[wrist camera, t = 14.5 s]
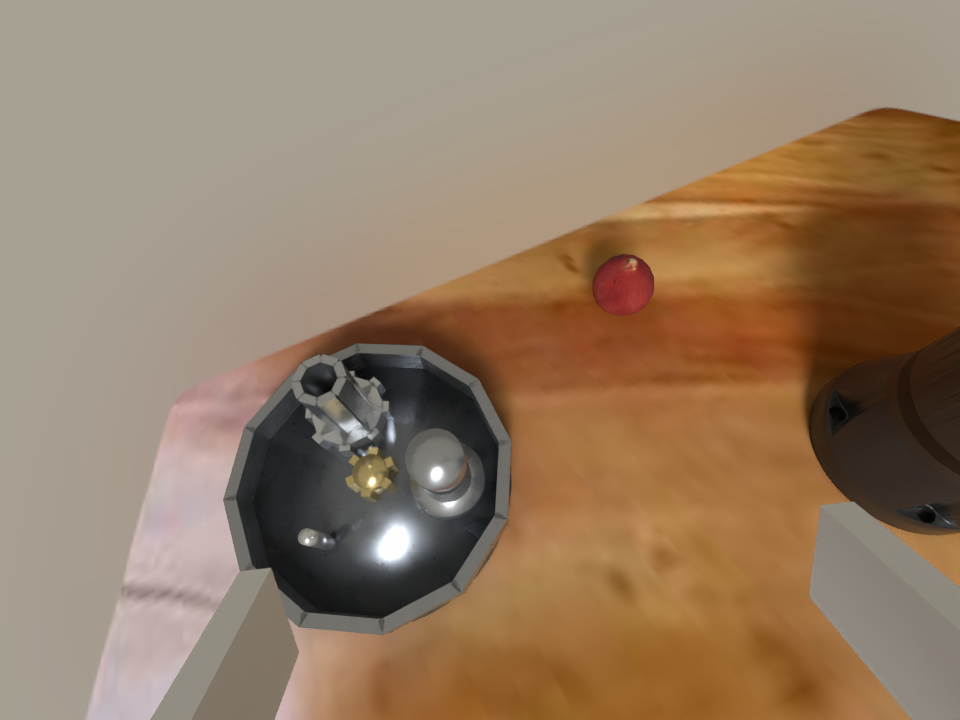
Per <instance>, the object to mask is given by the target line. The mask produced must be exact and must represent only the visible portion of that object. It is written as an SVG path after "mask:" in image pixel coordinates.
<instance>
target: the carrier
mask: <svg viewBox="0 0 960 720" xmlns="http://www.w3.org/2000/svg"><path fill="white" fill-rule="evenodd" d="M330 356H331V357H334V358H337V359H339V360H340V361H341V362H342V363H343V364H344V366H345V367H346V368H347V370H348V371H355V372H356V374H357V375H358V376H359V378H360V379H364V380H367V381H370V380H371V379H372V378H373V377H375V378H376V379H377V380H378V381H379V382H380V383H381V384H382V385H383V387H384V388H385V390H386V392H385V393H384V394H382V397H383V399H384V401H389V402H390V404H391V405H392V407H393V408H394V417H393V418H391V419H387V421H386V423H385V425H384V427H383V430H382V432H381V434H382V435H383V436H384V438H385V439H384V440H383V441H382V442H381V443H380V444H379V445H378V446H376V445H375V444H374V443H373V442H372V443H370V444H368V445H366V446H364V447H362V448H359V449H357V456H356V455H353V456H350V457H346V456H344V455H343V454H342V453H341V452H339V448H338V447H335V446H332V445H331V446H330V447H329V448H328V449H327V450H326V449H324V448H323V447H322V446H320V445H319V444H318V443H317V442H316V441H315V440H314V439H313V438H312V436H313V435H314V434H315V433H316V429H315V426H314V425H313V424H312V423H311V422H309V421H308V420H307V419H306V418H305V415H306V407H305V406H304V405H303V404H301V403H300V402H299V401H298V400H297V399H296V397H295V394H294V391H293V388H292V385H291V383H293V381H292V378H293V376H294V374H295V372H296V371H297V370H296V371H294V372H293V373H292V374H291V375H290V376H289V377H288V378H287V380H286V381H285V382H284V383H283V384H282V385H281V386H280V387H279V389H278V390H277V391H276V392H275V393H274V394H273V395H272V396H271V398H270V399H269V400H268V401H267V402H266V403H265V404H264V405H263V407H262V408H261V409H260V410H259V411H258V412H257V413H256V414H255V416H254V417H253V418H252V419H251V420H250V421H249V422H248V423H247V425H246V426H245V427H244V430H243V434H242V437H241V441H240V444H239V448H238V451H237V454H236V458H235V461H234V465H233V468H232V472H231V475H230V478H229V482H228V485H227V489H226V492H225V496H224V499H223V501H224V505H225V509H226V514H227V518H228V522H229V527H230V531H231V535H232V539H233V544H234V548H235V552H236V557H237V561H238V565H239V570H240V571H247V570H256V569H265V568H271V569H272V572H273V575H274V578H275V581H276V584H277V587H278V590H279V593H280V596H281V599H282V602H283V605H284V608H285V611H286V614H287V617H288V618H289V619H290V620H291V621H293V622H294V623H295V624H296V625H297V626H298V627H303V628H313V629H324V630H335V631H346V632H356V633H367V634H378V635H384V634H387V633H390V632H393V631H395V630H396V629H398V628H400V627H402V626H404V625H406V624H408V623H410V622H412V621H415V620H417V619H420V618H422V617H424V616H426V615H429V614H431V613H433V612H434V611H436V610H438V609H439V608H441V607H442V606H444V605H446V604H447V603H449V602H450V601H451V600H453V599H455V598H456V597H458V596H460V595H462V594H464V593H465V592H466V591H467V589H468V587H469V586H470V584H471V583H472V581H473V580H474V579H475V578H476V577H477V576H478V574H479V573H480V571H481V570H482V569H483V567H484V566H485V564H486V563H487V562H488V560H489V559H490V557H491V555H492V553H493V551H494V549H495V547H496V546H497V544H498V542H499V539H500V536H501V534H502V533H503V531H504V530H505V528H506V526H507V525H508V515H509V505H510V496H511V451H512V448H511V440H510V438H509V436H508V434H507V432H506V430H505V428H504V426H503V424H502V423H501V421H500V419H499V417H498V415H497V413H496V411H495V409H494V407H493V406H492V404H491V402H490V400H489V398H488V396H487V394H486V392H485V390H484V389H483V387H482V385H481V383H480V381H479V379H477V378H476V377H474V376H472V375H471V374H469V373H467V372H466V371H464V370H462V369H461V368H459V367H457V366H456V365H454V364H452V363H451V362H449V361H447V360H446V359H444V358H442V357H441V356H439V355H437V354H436V353H434V352H432V351H431V350H429V349H427V348H426V347H424V346H416V345H387V344H358V343H357V344H355V345H352V346H350V347H348V348H346V349H343V350H341V351H339V352H337V353H334V354H332V355H330Z"/></svg>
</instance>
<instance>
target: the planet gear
mask: <svg viewBox="0 0 960 720" xmlns="http://www.w3.org/2000/svg"><path fill="white" fill-rule="evenodd" d="M292 381H293V383H291V385H292V388H293V391H294V394H295V397H296V399H297V400H298V401H299V402H300V403H301V404H303V405H304V406H305V407H306V415H305V418H306V419H307V420H308V421H309V422H311V423H312V424H313V425H314V426H315V429H316V433H315V434H314V435H313V436H312V438H313V439H314V440H315V441H316V442H317V443H318V444H319V445H320V446H322V447H323V448H324V449H326V450H327V449H328V448H329V447H330V446H331V445H332V446H335V447H338V448H339V452H341V453H342V454H343V455H344V456H346V457H350V456H353V455H356V456H357V449H359V448H362V447H364V446H366V445H368V444H370V443H372V442H373V443H374V444H375V445H376V446H378V445H379V444H380V443H381V442H382V441H383V440H384V439H385V438H384V436H383V435H382V434H381V432H382V430H383V427H384V425H385V423H386V421H387V419H391V418H393V417H394V408H393V407H392V405H391V404H390V402H389V401H384V399H383V397H382V394H384V393H385V392H386V390H385V388H384V387H383V385H382V384H381V383H380V382H379V381H378V380H377V379H376V378H375V377H373V378H372V379H371V380H370V381H367V380H364V379H360V378H359V376H358V375H357V374H356V372H355V371H348V370H347V368H346V367H345V366H344V364H343V363H342V362H341V361H340V360H339V359H337V358H334V357H331V356H327V355H324V354H322V356H320V354H319V355H317V356H315V357H312V358H310V359H308V360H306V361H304V362H303V365H301V364H300V365H299V367H298V369H297V371H296V372H295V374H294V376H293V378H292Z"/></svg>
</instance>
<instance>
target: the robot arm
mask: <svg viewBox="0 0 960 720" xmlns="http://www.w3.org/2000/svg"><path fill="white" fill-rule="evenodd" d="M810 431H811V438H812V442H813V446H814V449H815V452H816V455H817V457H818V459H819V461H820V463H821V465H822V467H823V469H824V470H825V472H826V473H827V475H828V476H829V478H830V479H831V480H832V482H833V483H834V484H835V485H836V487H837V488H838V489H839V490H840V491H841V492H842V493H843V494H844V495H845V496H846V497H847V498H848V499H849V500H850V501H852V502H845V503H836V504H828V505H821V507H820V514H819V522H818V530H817V537H816V545H815V553H814V560H813V568H812V576H811V583H810V591H809V597H810V599H811V600H812V601H813V602H814V603H815V604H816V606H817V607H818V608H819V609H820V610H821V612H822V613H823V614H824V615H825V616H826V618H827V619H828V620H829V621H830V622H831V624H832V625H833V626H834V627H835V628H836V630H837V631H838V632H839V633H840V634H841V636H842V637H843V638H844V639H845V640H846V642H847V643H848V644H849V645H850V646H851V648H852V649H853V650H854V651H855V652H856V654H857V655H858V656H859V657H860V658H861V660H862V661H863V662H864V663H865V664H866V666H867V667H868V668H869V669H870V670H871V671H872V673H873V674H874V675H875V676H876V677H877V679H878V680H879V681H880V682H881V683H882V685H883V686H884V687H885V688H886V689H887V691H888V692H889V693H890V694H891V695H892V697H893V698H894V699H895V700H896V701H897V703H898V704H899V705H900V706H901V707H902V709H903V710H904V711H905V712H906V713H907V715H908V716H909V717H910V718H911V719H912V720H960V587H958V586H957V585H956V584H955V583H953V582H952V581H951V580H950V579H949V578H947V577H946V576H945V575H944V574H942V573H941V572H940V571H939V570H937V569H936V568H935V567H934V566H932V565H931V564H930V563H929V562H928V561H926V560H925V559H924V558H923V557H921V556H920V555H919V554H918V553H916V552H915V551H914V550H913V549H912V548H910V547H909V546H908V545H907V544H905V543H904V542H903V541H902V540H900V539H899V538H898V537H897V536H895V535H894V534H893V533H892V532H891V531H889V530H888V529H887V528H886V527H884V526H883V525H882V524H881V523H879V522H878V521H877V520H876V519H878V520H880V521H882V522H884V523H886V524H888V525H891V526H893V527H896V528H899V529H902V530H905V531H909V532H913V533H918V534H925V535H948V534H955V533H960V327H959V328H957V329H955V330H953V331H952V332H950V333H948V334H947V335H945V336H943V337H941V338H940V339H938V340H936V341H934V342H933V343H931V344H930V345H928V346H926V347H925V348H923V349H921V350H920V351H916V352H911V353H906V354H900V355H895V356H889V357H884V358H878V359H873V360H869V361H865V362H863V363H860V364H857V365H855V366H853V367H851V368H849V369H847V370H846V371H844V372H843V373H841V374H840V375H838V376H837V377H835V378H834V379H833V380H831V381H830V382H829V383H828V384H826V385H825V387H824V388H823V389H822V390H821V391H820V393H819V394H818V396H817V398H816V400H815V402H814V405H813V408H812V411H811V418H810ZM872 516H873V517H874V518H876V519H874V518H873V517H872ZM298 654H299V651H298V648H297V645H296V642H295V639H294V636H293V632H292V629H291V626H290V623H289V620H288V617H287V614H286V611H285V608H284V605H283V602H282V599H281V596H280V593H279V590H278V587H277V584H276V581H275V578H274V575H273V572H272V569H271V568H265V569H256V570H247V571H240V572H239V574H238V575H237V577H236V579H235V580H234V582H233V584H232V585H231V587H230V589H229V590H228V592H227V594H226V595H225V597H224V599H223V600H222V602H221V604H220V605H219V607H218V609H217V610H216V612H215V614H214V615H213V617H212V619H211V620H210V622H209V623H208V625H207V627H206V628H205V630H204V632H203V633H202V635H201V637H200V638H199V640H198V642H197V643H196V645H195V647H194V648H193V650H192V652H191V653H190V655H189V657H188V658H187V660H186V662H185V663H184V665H183V667H182V668H181V670H180V672H179V673H178V675H177V677H176V678H175V680H174V682H173V683H172V685H171V687H170V688H169V690H168V692H167V693H166V695H165V696H164V698H163V700H162V701H161V703H160V705H159V706H158V708H157V710H156V711H155V713H154V715H153V716H152V718H151V720H274V719H275V716H276V714H277V711H278V708H279V706H280V703H281V700H282V697H283V695H284V692H285V689H286V687H287V684H288V681H289V678H290V676H291V673H292V670H293V668H294V665H295V662H296V659H297V657H298Z"/></svg>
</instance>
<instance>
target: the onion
mask: <svg viewBox="0 0 960 720" xmlns="http://www.w3.org/2000/svg"><path fill="white" fill-rule="evenodd" d="M653 292H654V276H653V274H652V272H651V269H650V267H649V266H648V265H647V264H646V263H645V262H644V261H643V260H642V259H640V258H638V257H636V256H634V255H626V254H622V255H618V256H614V257H611V258H610V259H608V260H607V261H606V262H605V263H604V264H602V265H601V266H600V267H599V269H598V271H597V272H596V274H595V276H594V279H593V295H594V297H595V299H596V302H597V303H598V304H599V305H600V306H601V307H602V308H603V309H604V310H605V311H606V312H608V313H610V314H613V315H619V316H625V315H629V314H633V313H636V312H637V311H639V310H641V309H642V308H644V307H645V305H646V304H647V303H648V302H649V300H650V298H651V297H652V295H653Z"/></svg>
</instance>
